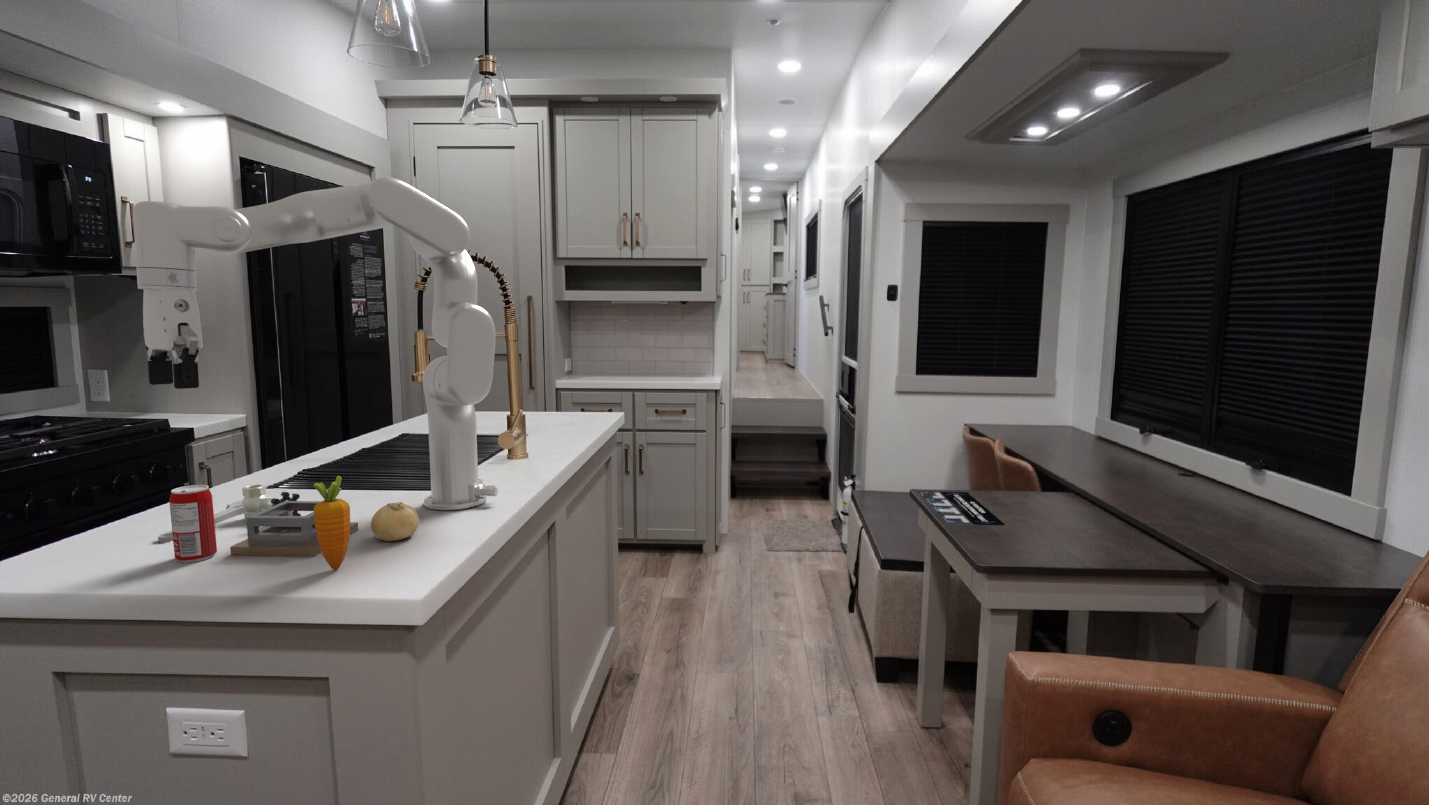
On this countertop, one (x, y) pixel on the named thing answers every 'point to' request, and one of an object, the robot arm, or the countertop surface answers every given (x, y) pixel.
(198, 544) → the soda can
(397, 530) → the onion
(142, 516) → the countertop surface
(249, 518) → the collar stand
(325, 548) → the carrot
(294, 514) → the valve
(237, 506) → the adjustable wrench
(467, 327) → the robot arm
